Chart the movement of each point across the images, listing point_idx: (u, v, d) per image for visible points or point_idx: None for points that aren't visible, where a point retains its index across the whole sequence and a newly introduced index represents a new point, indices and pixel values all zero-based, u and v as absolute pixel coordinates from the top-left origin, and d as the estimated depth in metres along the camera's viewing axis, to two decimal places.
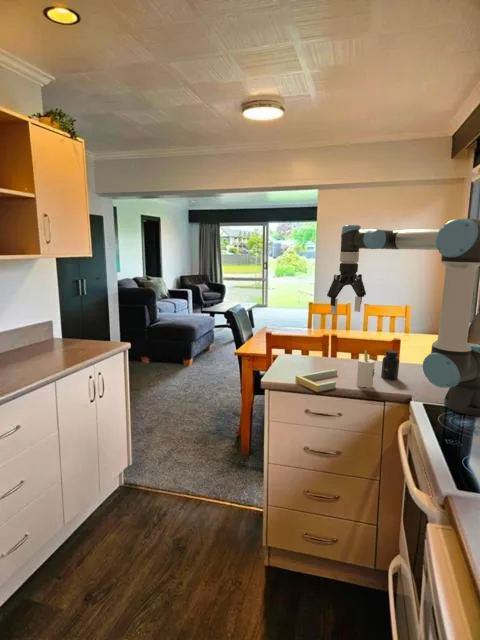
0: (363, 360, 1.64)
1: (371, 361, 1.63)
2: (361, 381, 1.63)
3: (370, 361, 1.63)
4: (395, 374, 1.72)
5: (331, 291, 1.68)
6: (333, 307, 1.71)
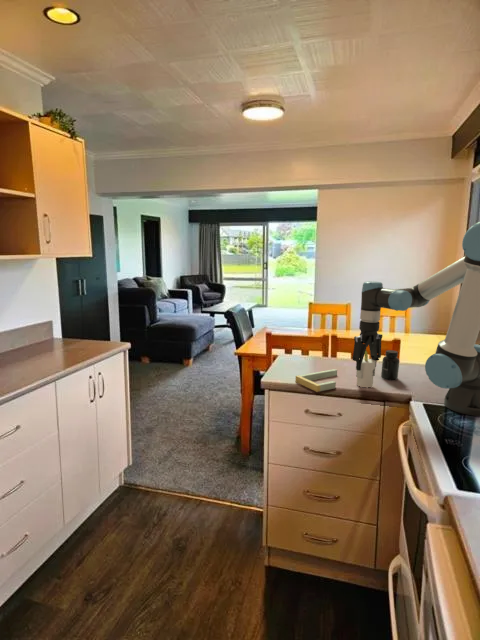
0: (363, 360, 1.64)
1: (371, 361, 1.63)
2: (361, 380, 1.63)
3: (370, 361, 1.63)
4: (395, 374, 1.72)
5: (356, 356, 1.60)
6: (359, 371, 1.63)
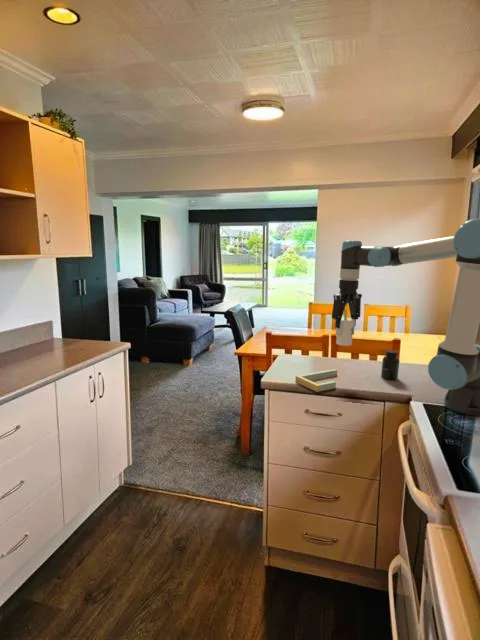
0: (342, 319, 1.68)
1: (350, 319, 1.67)
2: (340, 338, 1.67)
3: (349, 319, 1.67)
4: (395, 374, 1.72)
5: (335, 313, 1.63)
6: (338, 329, 1.66)
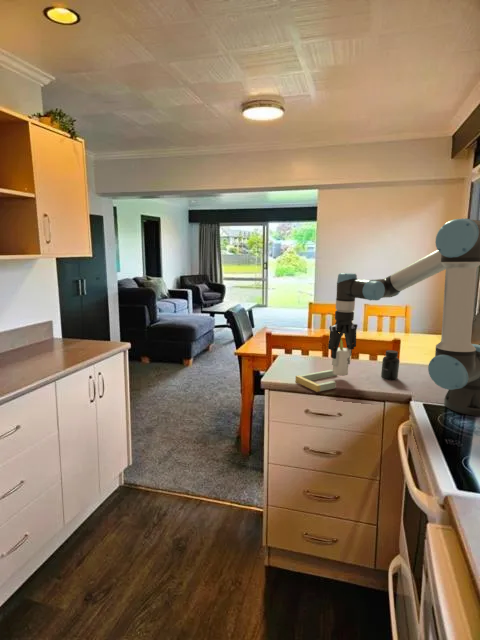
0: (339, 349, 1.70)
1: (346, 350, 1.69)
2: (336, 368, 1.69)
3: (345, 350, 1.69)
4: (395, 374, 1.72)
5: (331, 344, 1.66)
6: (334, 359, 1.69)
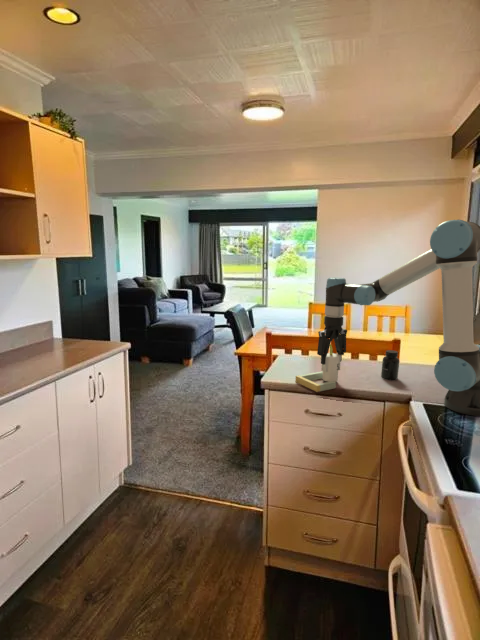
0: (328, 354, 1.68)
1: (336, 355, 1.67)
2: (326, 374, 1.67)
3: (335, 355, 1.67)
4: (395, 374, 1.72)
5: (320, 350, 1.63)
6: (323, 365, 1.67)
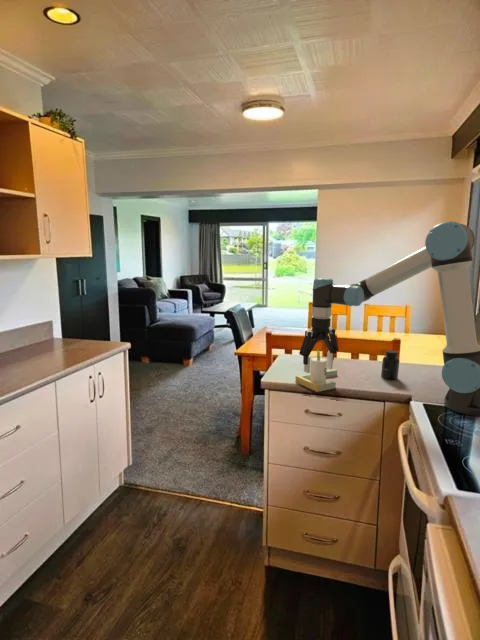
0: (315, 359, 1.65)
1: (323, 360, 1.64)
2: (313, 379, 1.64)
3: (322, 360, 1.64)
4: (395, 374, 1.72)
5: (303, 350, 1.59)
6: (306, 365, 1.62)
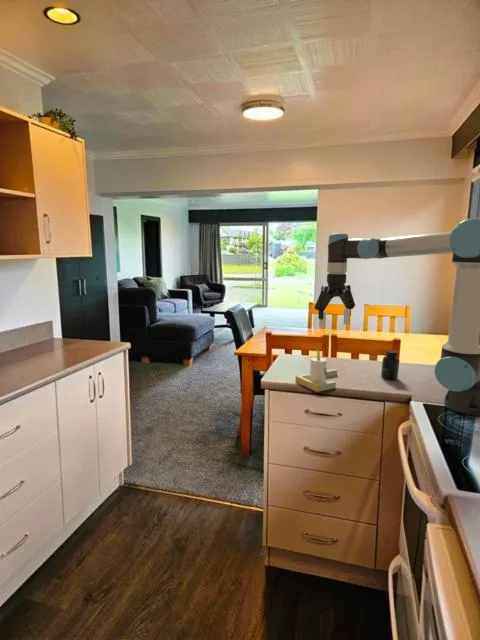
0: (315, 359, 1.65)
1: (323, 360, 1.64)
2: (313, 379, 1.64)
3: (322, 360, 1.63)
4: (395, 374, 1.72)
5: (319, 304, 1.58)
6: (321, 320, 1.61)
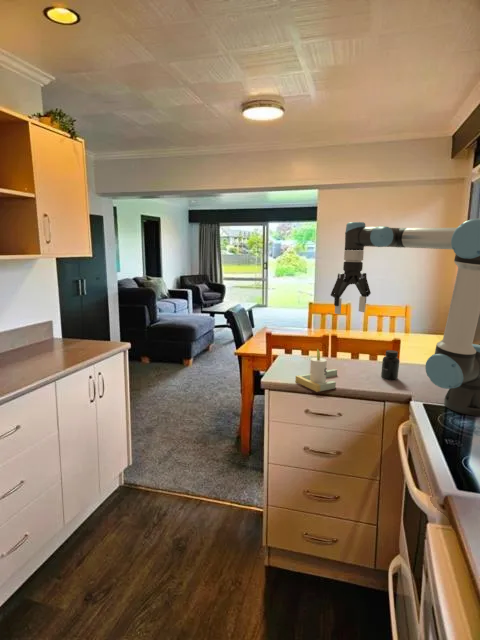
0: (315, 359, 1.65)
1: (323, 360, 1.64)
2: (313, 379, 1.64)
3: (322, 360, 1.63)
4: (395, 374, 1.72)
5: (335, 290, 1.62)
6: (337, 307, 1.65)
